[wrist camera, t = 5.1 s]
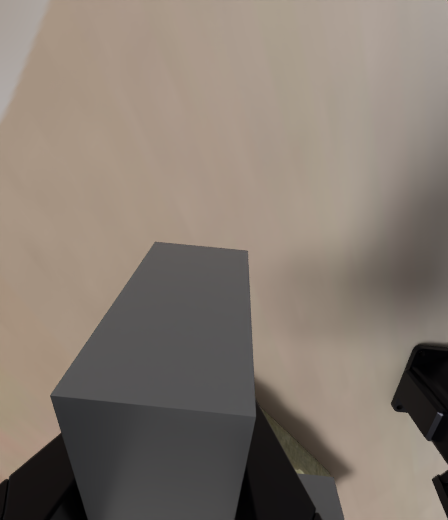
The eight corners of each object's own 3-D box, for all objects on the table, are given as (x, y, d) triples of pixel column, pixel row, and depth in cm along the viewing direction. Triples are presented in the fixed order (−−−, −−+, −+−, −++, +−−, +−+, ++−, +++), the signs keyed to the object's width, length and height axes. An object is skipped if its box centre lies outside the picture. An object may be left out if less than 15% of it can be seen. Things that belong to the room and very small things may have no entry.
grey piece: (435, 269, 7) (678, 460, 3) (324, 496, 12) (363, 675, 8) (-28, 224, 7) (-352, 353, 3) (57, 468, 13) (-29, 631, 9)
